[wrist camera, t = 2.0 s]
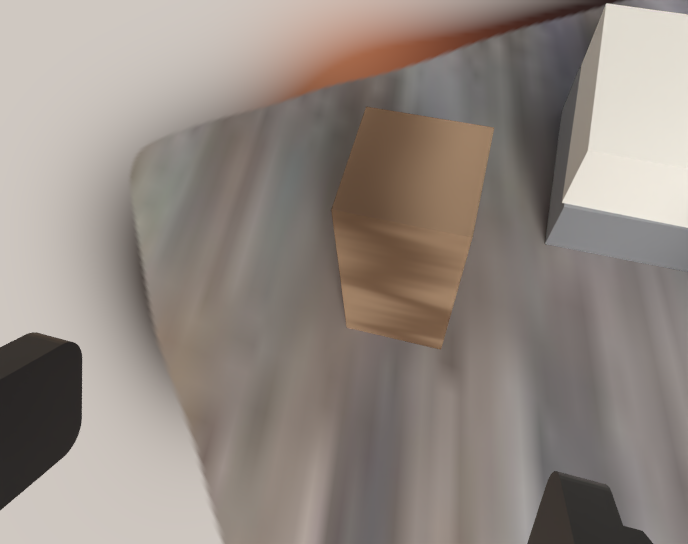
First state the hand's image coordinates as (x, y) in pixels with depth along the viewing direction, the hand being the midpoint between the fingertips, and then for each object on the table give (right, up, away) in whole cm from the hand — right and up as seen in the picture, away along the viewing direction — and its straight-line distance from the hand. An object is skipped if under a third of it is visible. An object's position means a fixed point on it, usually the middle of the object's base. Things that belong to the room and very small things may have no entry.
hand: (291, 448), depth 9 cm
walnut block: (+4, +2, +21) cm, 22 cm away
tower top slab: (+18, +9, +20) cm, 29 cm away
